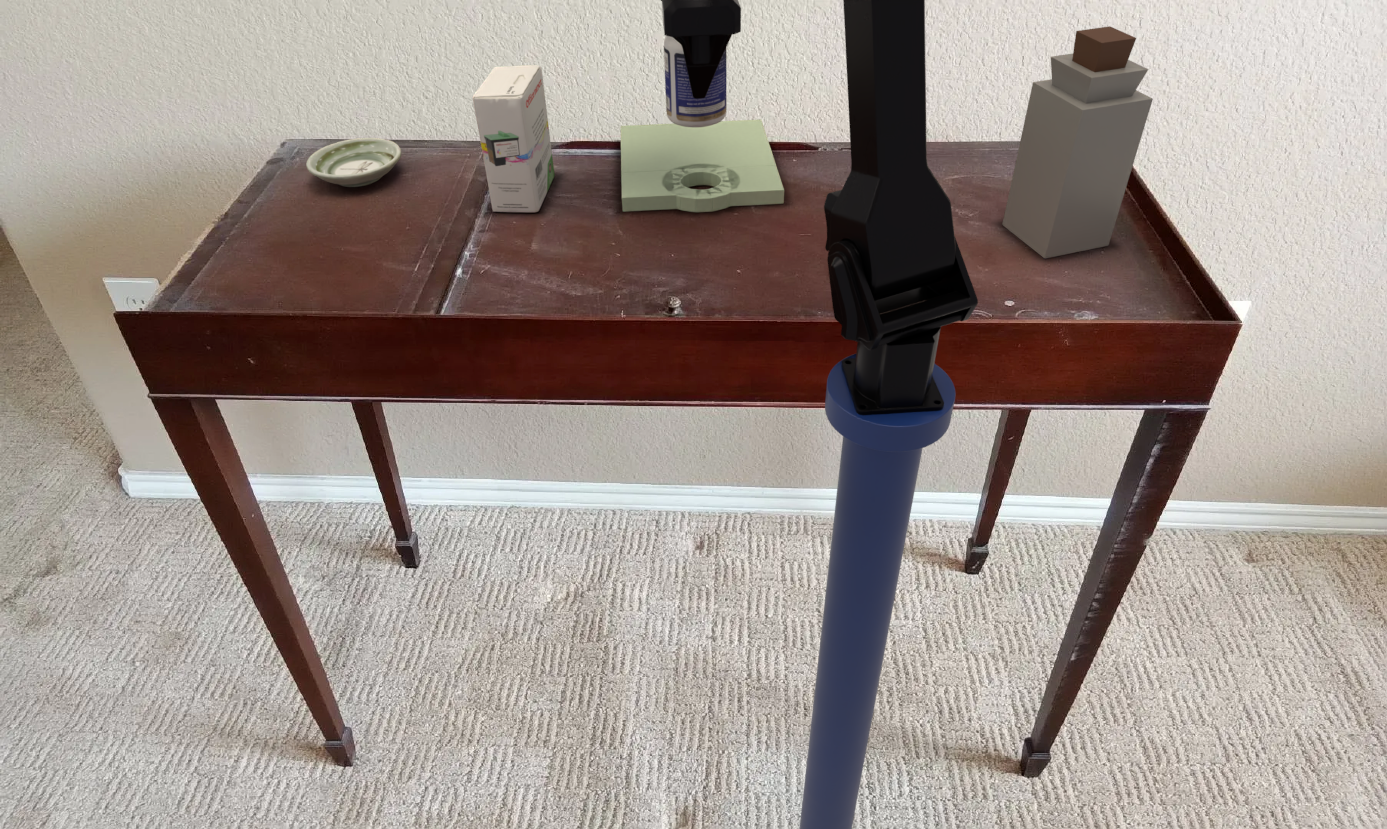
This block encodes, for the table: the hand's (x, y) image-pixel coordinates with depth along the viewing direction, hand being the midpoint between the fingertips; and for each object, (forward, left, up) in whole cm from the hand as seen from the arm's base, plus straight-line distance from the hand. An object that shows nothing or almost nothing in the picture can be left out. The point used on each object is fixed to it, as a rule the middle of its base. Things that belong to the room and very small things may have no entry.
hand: (696, 85), depth 85 cm
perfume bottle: (-11, -32, -11) cm, 36 cm away
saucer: (+9, +36, -11) cm, 38 cm away
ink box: (+3, +18, -11) cm, 21 cm away
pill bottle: (0, 0, -3) cm, 3 cm away
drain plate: (+7, 0, -11) cm, 13 cm away
